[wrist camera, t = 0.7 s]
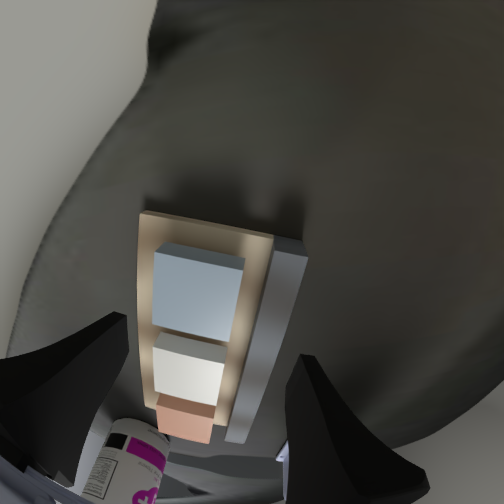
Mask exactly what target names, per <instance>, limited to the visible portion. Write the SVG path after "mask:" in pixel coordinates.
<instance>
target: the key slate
mask: <svg viewBox="0 0 504 504" xmlns="http://www.w3.org/2000/svg"><path fill="white" fill-rule="evenodd" d="M245 259H246V258H243V257H238V256H233V255H228V254H223V253H218V252H213V251H209V250H204V249H199V248H194V247H189V246H184V245H179V244H175V243H170V242H164V243H163V244H162V245H161V246H160V247H159V248H158V249H157V250H156V251H155V252H154V269H153V299H152V324H154V325H158V326H162V327H165V328H169V329H173V330H177V331H181V332H185V333H190V334H194V335H198V336H203V337H207V338H212V339H216V340H221V341H226V342H229V339H230V334H231V329H232V324H233V319H234V314H235V309H236V304H237V299H238V294H239V289H240V284H241V279H242V274H243V269H244V264H245Z"/></svg>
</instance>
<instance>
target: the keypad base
mask: <svg viewBox="0 0 504 504" xmlns="http://www.w3.org/2000/svg"><path fill="white" fill-rule="evenodd" d="M164 242H170V243H175V244H179V245H184V246H189V247H194V248H199V249H204V250H209V251H213V252H218V253H223V254H228V255H233V256H238V257H243V258H246V259H245V264H244V269H243V274H242V279H241V284H240V289H239V294H238V299H237V304H236V309H235V314H234V319H233V324H232V329H231V334H230V339H229V342H226V341H221V340H216V339H212V338H207V337H203V336H198V335H194V334H190V333H185V332H181V331H177V330H173V329H169V328H165V327H162V326H158V325H154V324H152V299H153V269H154V252H155V251H156V250H157V249H158V248H159V247H160V246H161V245H162V244H163V243H164ZM307 261H308V255H307V252H306V250H305V247H304V244H303V242H302V241H300V240H296V239H291V238H286V237H282V236H277V235H272V234H267V233H262V232H257V231H252V230H248V229H243V228H238V227H233V226H228V225H222V224H217V223H212V222H207V221H202V220H197V219H191V218H186V217H181V216H175V215H170V214H165V213H159V212H154V211H148V210H145V211H143V212H142V213H140V220H139V236H138V261H137V312H138V336H139V352H140V365H141V375H142V385H143V393H144V401H145V406H146V407H149V408H152V409H155V410H156V403H157V400H158V398H159V395H160V392H157V391H155V387H154V370H153V345H154V343H155V341H156V339H157V337H158V336H159V334H160V332H164V333H168V334H172V335H176V336H180V337H184V338H188V339H193V340H197V341H201V342H206V343H210V344H215V345H220V346H225V347H228V348H227V353H226V359H225V364H224V369H223V374H222V379H221V384H220V389H219V394H218V399H217V404H216V409H215V415H214V420H213V424H217V425H223V426H227V427H226V434H225V441H228V442H235V443H241V444H244V442H245V440H246V437H247V435H248V433H249V430H250V428H251V425H252V423H253V420H254V417H255V415H256V412H257V410H258V407H259V405H260V402H261V399H262V397H263V394H264V391H265V389H266V386H267V383H268V380H269V378H270V375H271V372H272V369H273V367H274V364H275V361H276V358H277V355H278V352H279V349H280V346H281V344H282V341H283V338H284V335H285V332H286V329H287V326H288V322H289V319H290V316H291V313H292V310H293V307H294V304H295V301H296V297H297V294H298V291H299V288H300V284H301V281H302V278H303V274H304V271H305V267H306V264H307Z"/></svg>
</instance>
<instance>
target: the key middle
mask: <svg viewBox="0 0 504 504" xmlns="http://www.w3.org/2000/svg"><path fill="white" fill-rule="evenodd" d="M227 348H228V347H225V346H220V345H215V344H210V343H206V342H201V341H197V340H193V339H188V338H184V337H180V336H176V335H172V334H168V333H164V332H160V334H159V336H158V337H157V339H156V341H155V343H154V345H153V370H154V387H155V391H157V392H160V393H164V394H167V395H171V396H175V397H179V398H183V399H187V400H191V401H195V402H200V403H204V404H209V405H214V406H216V404H217V399H218V394H219V389H220V384H221V379H222V374H223V369H224V364H225V359H226V353H227Z"/></svg>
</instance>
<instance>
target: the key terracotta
mask: <svg viewBox="0 0 504 504" xmlns="http://www.w3.org/2000/svg"><path fill="white" fill-rule="evenodd" d="M215 409H216V406H214V405H209V404H204V403H200V402H195V401H191V400H187V399H183V398H179V397H175V396H171V395H167V394H164V393H160V395H159V398H158V400H157V403H156V412H157V422H158V431H159V432H161V433H165V434H168V435H172V436H176V437H180V438H184V439H188V440H192V441H197V442H202V443H206V444H209V440H210V435H211V430H212V425H213V420H214V415H215Z"/></svg>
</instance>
